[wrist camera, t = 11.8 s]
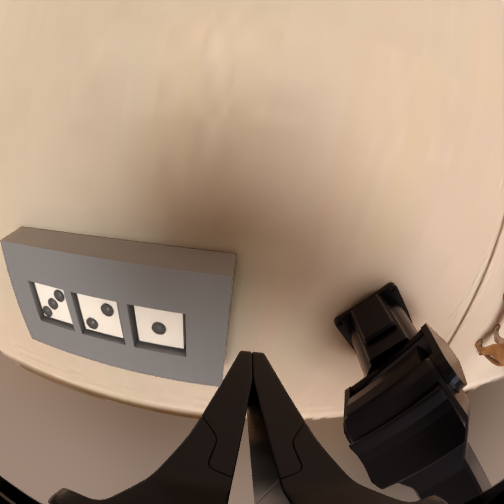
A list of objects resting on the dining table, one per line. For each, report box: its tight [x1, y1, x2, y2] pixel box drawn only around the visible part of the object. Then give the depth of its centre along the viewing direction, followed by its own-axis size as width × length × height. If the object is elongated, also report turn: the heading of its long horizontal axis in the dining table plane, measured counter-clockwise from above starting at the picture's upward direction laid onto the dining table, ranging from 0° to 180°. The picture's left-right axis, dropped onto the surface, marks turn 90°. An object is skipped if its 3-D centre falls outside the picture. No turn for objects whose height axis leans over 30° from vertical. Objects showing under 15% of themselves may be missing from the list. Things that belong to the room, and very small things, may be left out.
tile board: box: [0, 227, 236, 387], centre depth 21 cm, size 22×12×3 cm, turn 82°
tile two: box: [77, 293, 124, 338], centre depth 21 cm, size 4×4×2 cm
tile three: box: [35, 283, 73, 324], centre depth 21 cm, size 4×4×2 cm
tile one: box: [134, 306, 186, 349], centre depth 21 cm, size 4×4×2 cm
